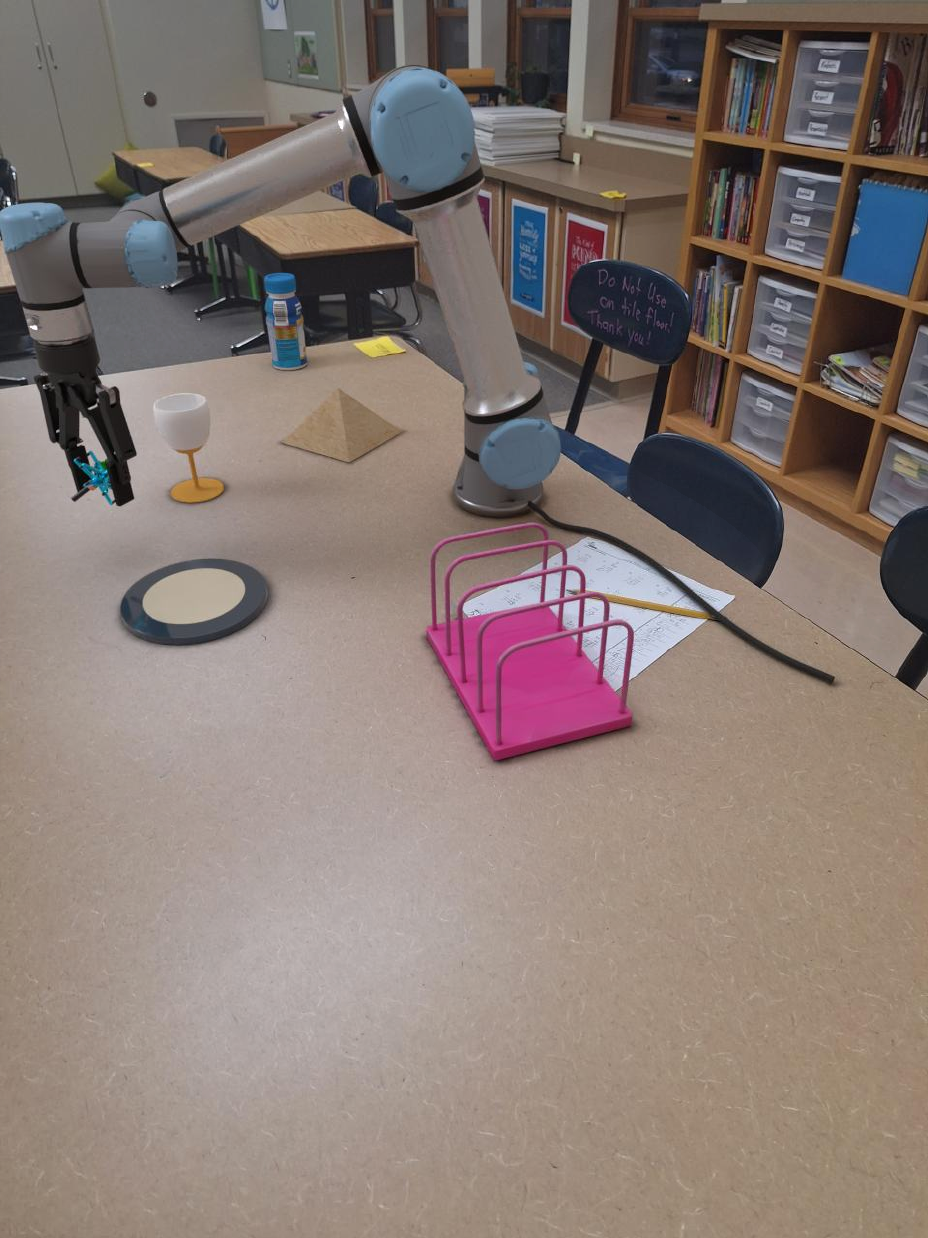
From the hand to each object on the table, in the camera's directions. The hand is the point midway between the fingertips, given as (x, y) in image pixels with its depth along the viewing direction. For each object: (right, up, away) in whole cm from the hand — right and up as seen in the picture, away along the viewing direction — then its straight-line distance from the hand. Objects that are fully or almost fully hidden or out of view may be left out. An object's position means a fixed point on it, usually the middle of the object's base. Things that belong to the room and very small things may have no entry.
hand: (105, 495), depth 124 cm
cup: (+5, +4, +26) cm, 26 cm away
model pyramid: (+28, +18, +44) cm, 55 cm away
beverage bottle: (+11, +42, +78) cm, 89 cm away
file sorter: (+59, -25, -17) cm, 66 cm away
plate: (+14, -15, -3) cm, 21 cm away
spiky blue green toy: (-1, 0, +1) cm, 1 cm away
